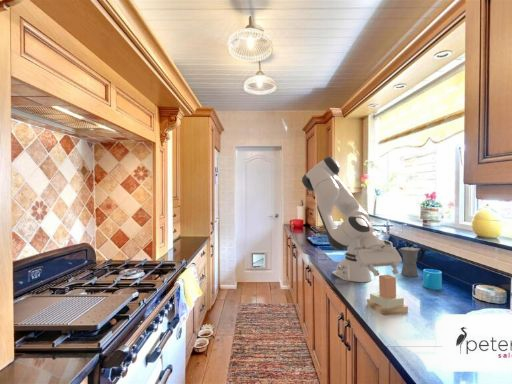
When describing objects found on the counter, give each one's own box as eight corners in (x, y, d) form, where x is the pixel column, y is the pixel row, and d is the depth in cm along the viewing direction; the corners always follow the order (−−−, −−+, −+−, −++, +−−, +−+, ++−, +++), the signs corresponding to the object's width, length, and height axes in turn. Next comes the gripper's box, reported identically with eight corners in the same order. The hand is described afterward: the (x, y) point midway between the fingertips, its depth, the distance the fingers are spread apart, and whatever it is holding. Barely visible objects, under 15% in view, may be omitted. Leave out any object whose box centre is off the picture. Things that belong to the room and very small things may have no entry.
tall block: (379, 294, 124) (379, 275, 124) (388, 293, 125) (388, 274, 125) (386, 298, 120) (386, 278, 119) (396, 297, 121) (395, 277, 120)
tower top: (370, 300, 125) (370, 293, 125) (385, 297, 129) (385, 291, 129) (387, 308, 117) (387, 301, 117) (403, 305, 120) (403, 297, 120)
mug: (426, 283, 158) (426, 268, 158) (444, 287, 151) (444, 271, 151) (417, 288, 150) (417, 271, 150) (435, 292, 144) (435, 275, 144)
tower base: (367, 306, 127) (367, 299, 127) (388, 304, 130) (389, 297, 130) (384, 316, 116) (384, 309, 116) (407, 314, 119) (407, 306, 119)
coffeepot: (402, 276, 170) (402, 245, 170) (394, 272, 179) (394, 242, 179) (429, 276, 170) (429, 245, 170) (420, 272, 179) (420, 242, 179)
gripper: (354, 243, 128) (368, 272, 119) (394, 241, 134) (411, 268, 124) (348, 251, 133) (362, 280, 123) (387, 249, 138) (403, 276, 129)
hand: (387, 274), depth 124 cm, fingers open, 8 cm apart
